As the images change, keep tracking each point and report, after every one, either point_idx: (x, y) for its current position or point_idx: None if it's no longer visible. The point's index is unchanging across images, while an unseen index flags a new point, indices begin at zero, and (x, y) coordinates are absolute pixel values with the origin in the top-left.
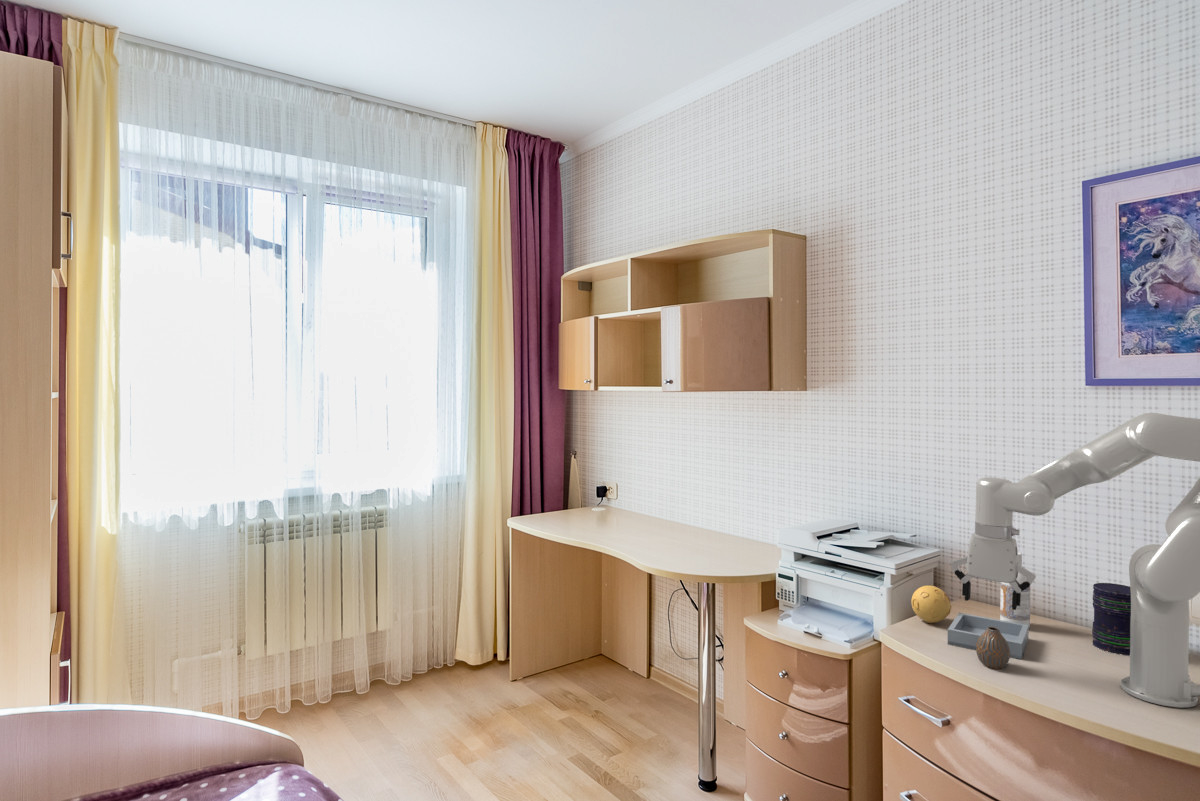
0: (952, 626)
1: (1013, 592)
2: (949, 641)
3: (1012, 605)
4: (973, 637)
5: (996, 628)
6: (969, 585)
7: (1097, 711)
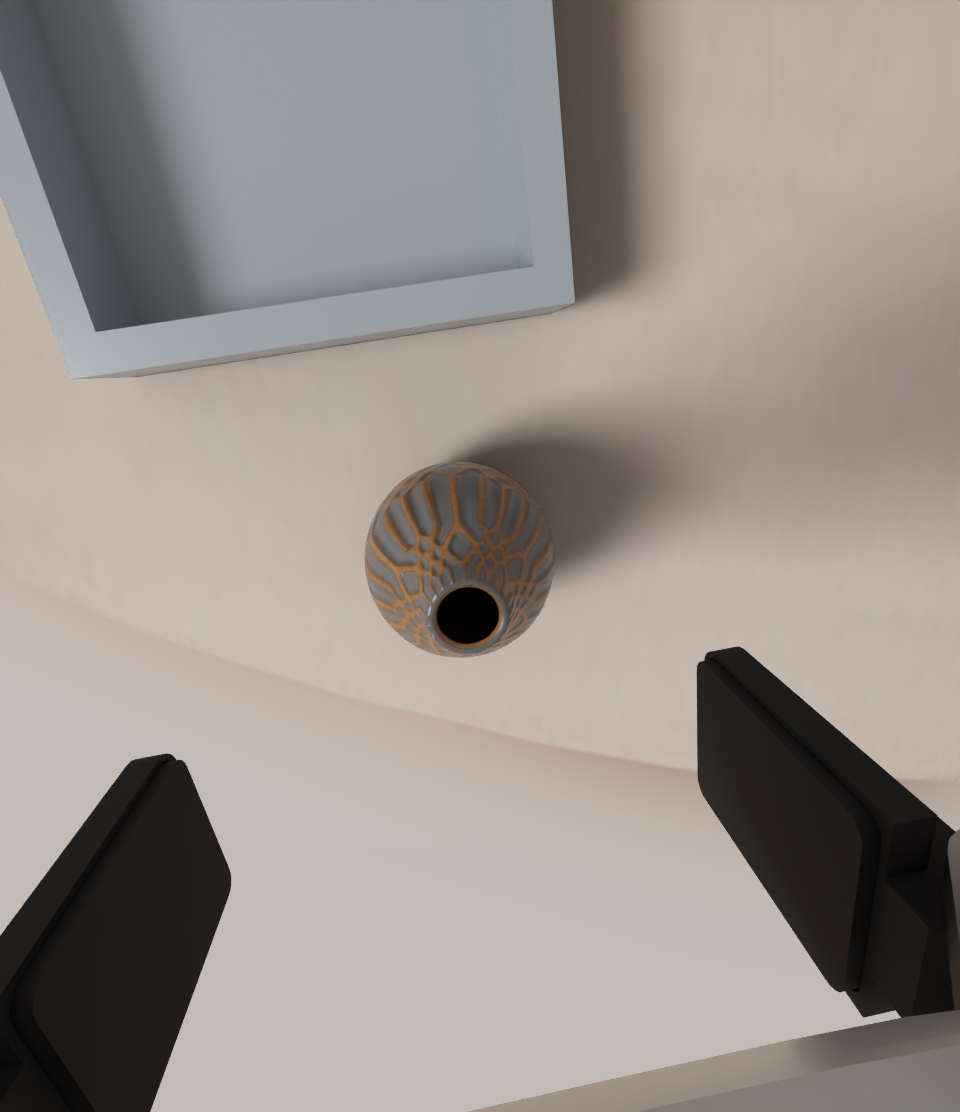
0: (51, 271)
1: (854, 973)
2: (136, 375)
3: (725, 822)
4: (264, 351)
5: (485, 590)
6: (112, 1067)
7: (866, 697)
